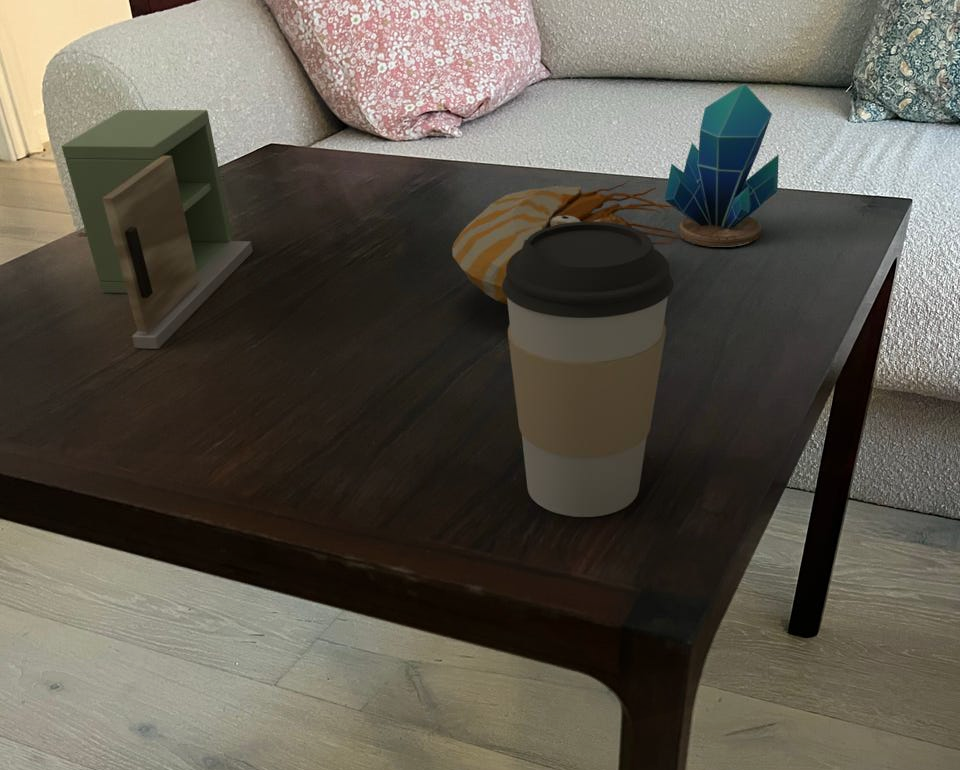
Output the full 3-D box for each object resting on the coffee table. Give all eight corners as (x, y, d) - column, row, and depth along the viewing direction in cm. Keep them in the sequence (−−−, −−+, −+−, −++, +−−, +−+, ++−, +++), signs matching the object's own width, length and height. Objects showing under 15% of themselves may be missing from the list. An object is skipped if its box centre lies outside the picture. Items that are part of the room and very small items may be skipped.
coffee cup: (620, 437, 68) (631, 197, 58) (684, 507, 61) (709, 250, 52) (488, 465, 66) (477, 221, 56) (539, 541, 59) (537, 279, 50)
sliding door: (137, 331, 81) (101, 198, 75) (190, 280, 89) (162, 155, 83) (153, 332, 81) (118, 198, 75) (204, 281, 89) (177, 155, 82)
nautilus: (638, 245, 96) (733, 310, 85) (419, 277, 88) (495, 352, 78) (650, 152, 90) (753, 210, 80) (418, 179, 83) (500, 246, 73)
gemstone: (691, 215, 100) (702, 75, 92) (777, 230, 95) (797, 84, 88) (654, 240, 95) (663, 94, 87) (743, 256, 91) (761, 105, 83)
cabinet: (41, 344, 83) (-11, 187, 76) (155, 247, 99) (122, 109, 92) (158, 349, 82) (117, 188, 74) (255, 250, 98) (229, 109, 90)
